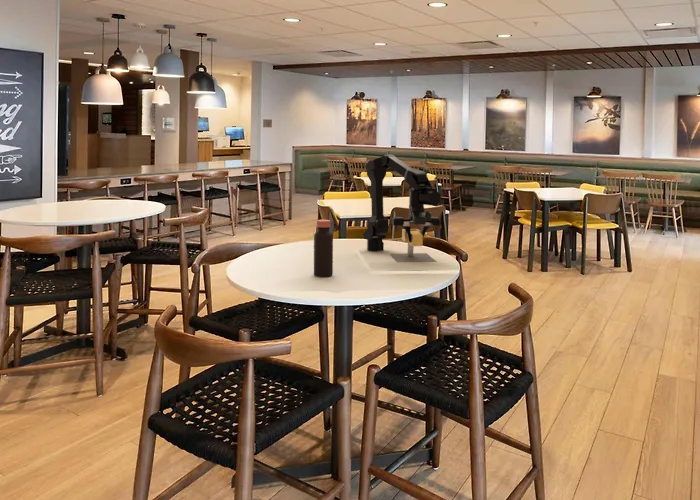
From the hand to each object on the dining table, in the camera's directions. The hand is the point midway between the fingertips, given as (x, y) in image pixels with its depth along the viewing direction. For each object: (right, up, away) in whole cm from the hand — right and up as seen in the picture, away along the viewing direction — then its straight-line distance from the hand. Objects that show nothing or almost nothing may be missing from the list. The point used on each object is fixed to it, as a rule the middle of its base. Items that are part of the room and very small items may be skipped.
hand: (415, 242), depth 244 cm
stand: (-1, -7, +6) cm, 9 cm away
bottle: (-36, -12, -23) cm, 44 cm away
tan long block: (0, 0, +4) cm, 4 cm away
